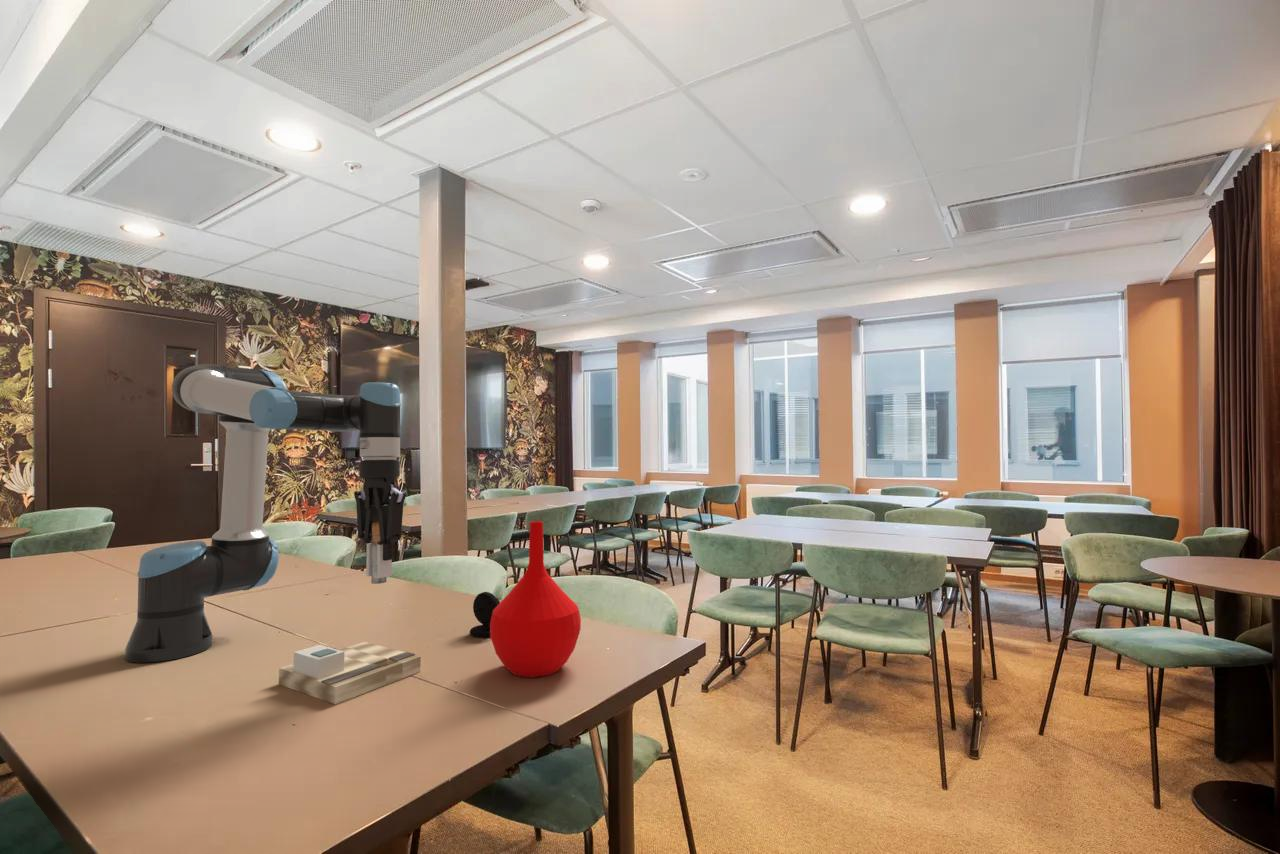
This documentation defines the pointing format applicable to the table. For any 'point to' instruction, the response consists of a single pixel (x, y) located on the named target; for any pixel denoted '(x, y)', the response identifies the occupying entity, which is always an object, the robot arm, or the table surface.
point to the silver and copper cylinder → (375, 554)
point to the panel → (355, 673)
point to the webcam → (483, 613)
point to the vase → (535, 619)
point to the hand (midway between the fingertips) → (378, 575)
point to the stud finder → (318, 661)
